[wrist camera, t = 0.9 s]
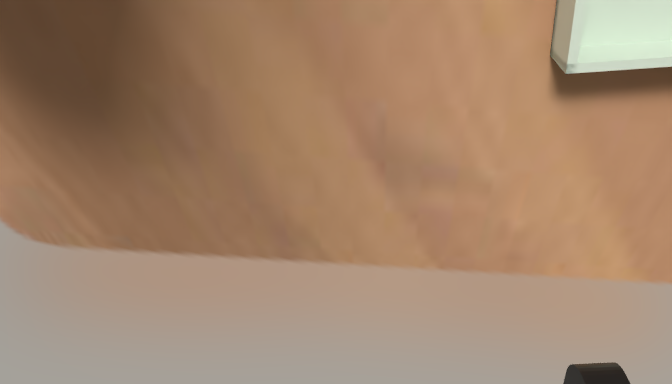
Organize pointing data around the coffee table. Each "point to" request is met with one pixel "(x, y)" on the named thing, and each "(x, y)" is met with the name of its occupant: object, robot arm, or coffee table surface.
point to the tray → (612, 35)
